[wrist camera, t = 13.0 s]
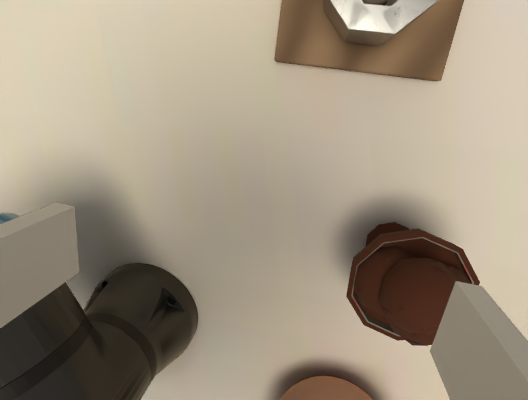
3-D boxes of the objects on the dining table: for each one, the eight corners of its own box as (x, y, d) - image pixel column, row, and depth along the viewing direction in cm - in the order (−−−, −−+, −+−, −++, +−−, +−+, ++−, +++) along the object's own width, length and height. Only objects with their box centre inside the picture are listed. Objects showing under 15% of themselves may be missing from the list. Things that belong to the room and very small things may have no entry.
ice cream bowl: (322, 246, 39) (321, 329, 25) (393, 180, 35) (439, 234, 21) (386, 301, 40) (420, 412, 26) (462, 242, 36) (551, 335, 22)
